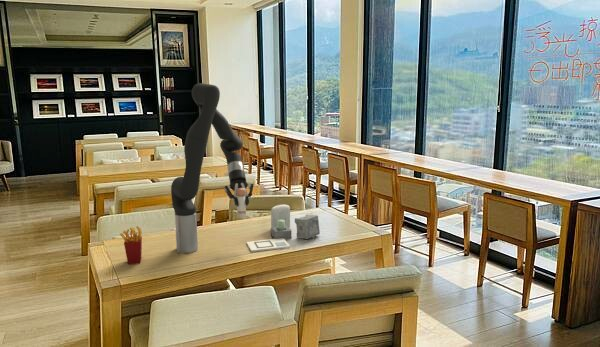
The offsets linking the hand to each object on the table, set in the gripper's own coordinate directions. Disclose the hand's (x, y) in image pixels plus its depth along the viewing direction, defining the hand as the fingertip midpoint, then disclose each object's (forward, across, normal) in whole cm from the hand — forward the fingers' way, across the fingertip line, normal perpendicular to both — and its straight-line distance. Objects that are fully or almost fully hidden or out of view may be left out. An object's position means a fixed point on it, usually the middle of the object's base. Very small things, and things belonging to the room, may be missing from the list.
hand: (242, 205), depth 211 cm
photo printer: (0, +23, +29) cm, 37 cm away
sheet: (+16, +11, +13) cm, 23 cm away
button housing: (+9, +20, +20) cm, 30 cm away
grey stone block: (+12, +32, +17) cm, 38 cm away
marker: (+3, 0, +6) cm, 6 cm away
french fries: (+15, -48, +14) cm, 52 cm away
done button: (+7, +20, +19) cm, 28 cm away
